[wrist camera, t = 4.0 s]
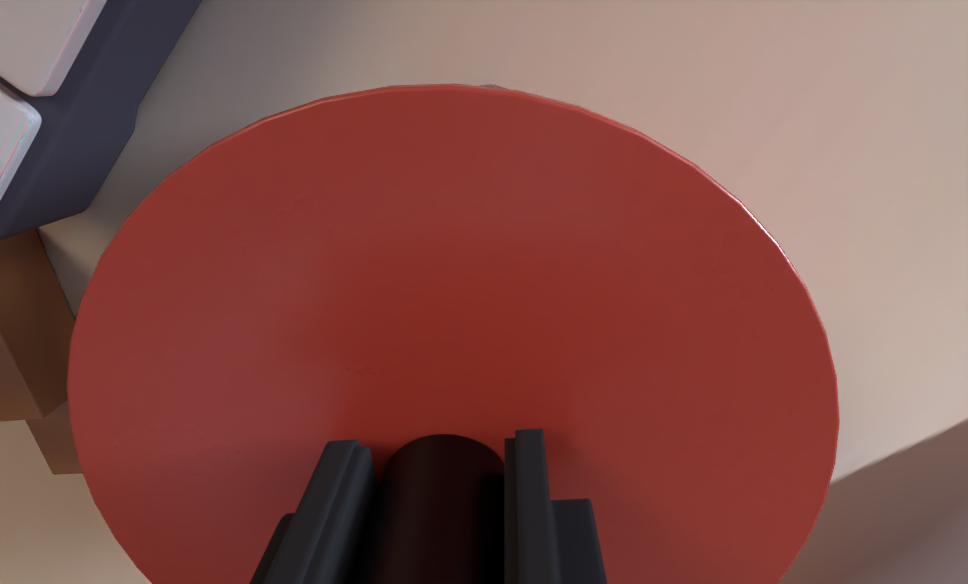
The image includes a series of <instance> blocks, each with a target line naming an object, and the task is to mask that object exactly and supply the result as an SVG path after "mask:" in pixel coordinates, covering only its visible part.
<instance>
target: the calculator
mask: <svg viewBox="0 0 968 584" xmlns="http://www.w3.org/2000/svg"><path fill="white" fill-rule="evenodd" d="M200 2H201V0H0V239H3V238H6V237H9V236H12V235H15V234H18V233H22V232H25V231H28V230H31V229H34V228H37V227H40V226H43V225H46V224H49V223H52V222H55V221H58V220H61V219H64V218H67V217H70V216H73V215H76V214H78V213H81V212H83V211H85V210H86V209H87V207H88V206H89V204H90V203H91V201H92V200H93V198H94V196H95V195H96V193H97V191H98V190H99V188H100V186H101V185H102V183H103V181H104V180H105V178H106V176H107V175H108V173H109V171H110V170H111V168H112V166H113V165H114V163H115V161H116V160H117V158H118V156H119V155H120V153H121V151H122V150H123V148H124V146H125V145H126V143H127V141H128V140H129V138H130V136H131V135H132V133H133V131H134V127H135V120H136V112H137V108H138V106H139V104H140V102H141V100H142V99H143V97H144V95H145V94H146V92H147V90H148V89H149V87H150V85H151V84H152V82H153V80H154V79H155V77H156V75H157V74H158V72H159V70H160V69H161V67H162V65H163V64H164V62H165V60H166V59H167V57H168V55H169V53H170V52H171V50H172V48H173V47H174V45H175V43H176V42H177V40H178V38H179V37H180V35H181V33H182V32H183V30H184V28H185V27H186V25H187V23H188V22H189V20H190V18H191V17H192V15H193V13H194V12H195V10H196V8H197V7H198V5H199V3H200Z"/></svg>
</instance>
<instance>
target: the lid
mask: <svg viewBox="0 0 968 584" xmlns="http://www.w3.org/2000/svg"><path fill="white" fill-rule="evenodd" d="M67 395H68V407H69V419H70V428H71V432H72V436H73V440H74V444H75V448H76V452H77V456H78V460H79V465H80V467H81V470H82V472H83V475H84V477H85V480H86V482H87V485H88V487H89V490H90V492H91V495H92V497H93V500H94V502H95V504H96V506H97V507H98V509H99V511H100V513H101V514H102V516H103V518H104V520H105V521H106V523H107V525H108V527H109V528H110V530H111V532H112V534H113V535H114V537H115V538H116V540H117V541H118V542H119V544H120V545H121V546H122V548H123V549H124V550H125V552H126V553H127V554H128V556H129V557H130V558H131V560H132V561H133V562H134V564H135V565H136V566H137V568H138V569H139V570H140V571H141V572H142V573H143V574H144V575H145V576H146V577H147V579H148V580H149V581H150V582H151V583H152V584H249V583H250V581H251V579H252V577H253V575H254V573H255V571H256V568H257V566H258V564H259V562H260V560H261V558H262V556H263V554H264V552H265V550H266V548H267V546H268V543H269V541H270V539H271V537H272V535H273V533H274V531H275V529H276V527H277V525H278V523H279V521H280V520H281V518H282V517H283V516H284V515H285V514H287V513H295V511H296V509H297V507H298V505H299V503H300V500H301V498H302V496H303V494H304V492H305V489H306V487H307V485H308V483H309V481H310V478H311V476H312V474H313V472H314V470H315V467H316V465H317V463H318V461H319V459H320V456H321V454H322V452H323V450H324V448H325V446H326V444H327V442H329V441H337V440H354V439H357V440H359V442H360V444H361V447H364V446H367V447H369V449H370V452H371V456H372V460H373V465H374V469H375V474H376V478H377V483H378V487H379V489H378V493H377V496H376V500H375V503H374V506H373V510H372V513H371V517H370V520H369V524H368V527H367V531H366V534H365V538H364V541H363V545H362V548H361V552H360V555H359V559H358V562H357V566H356V569H355V572H354V576H353V579H352V583H351V584H504V444H505V438H515V430H524V429H542V428H543V433H544V443H545V452H546V462H547V472H548V482H549V492H550V500H565V499H586V498H590V500H591V503H592V508H593V513H594V518H595V523H596V528H597V533H598V538H599V544H600V549H601V554H602V559H603V564H604V569H605V575H606V580H607V584H777V582H779V580H780V579H781V578H782V577H783V576H784V575H785V573H786V572H787V571H788V569H789V567H790V566H791V564H792V563H793V561H794V560H795V558H796V557H797V555H798V553H799V552H800V550H801V549H802V547H803V546H804V544H805V543H806V541H807V539H808V537H809V535H810V533H811V531H812V529H813V526H814V524H815V522H816V520H817V517H818V515H819V513H820V511H821V508H822V506H823V504H824V501H825V497H826V494H827V491H828V487H829V483H830V480H831V476H832V473H833V469H834V465H835V459H836V449H837V440H838V431H839V407H838V391H837V377H836V373H835V369H834V364H833V360H832V356H831V352H830V348H829V344H828V339H827V335H826V331H825V329H824V326H823V324H822V322H821V320H820V317H819V315H818V313H817V310H816V308H815V306H814V303H813V301H812V299H811V296H810V294H809V292H808V289H807V287H806V285H805V284H804V282H803V281H802V279H801V277H800V276H799V274H798V273H797V271H796V270H795V268H794V267H793V265H792V263H791V262H790V260H789V259H788V257H787V256H786V254H785V253H784V251H783V250H782V248H781V246H780V245H779V243H778V242H777V241H776V240H775V239H774V238H773V236H772V235H771V234H770V233H769V232H768V231H767V230H766V229H765V228H764V226H763V225H762V224H761V223H760V222H759V221H758V220H757V219H756V218H755V216H754V215H753V214H752V213H751V212H750V211H749V210H748V209H747V208H746V207H745V205H744V204H743V203H742V202H741V201H740V200H739V199H737V198H736V197H735V196H734V195H732V194H731V193H730V192H729V191H727V190H726V189H725V188H724V187H723V186H721V185H720V184H719V183H718V182H716V181H715V180H714V179H713V178H711V177H710V176H709V175H708V174H706V173H705V172H704V171H703V170H702V169H700V168H699V167H698V166H697V165H695V164H694V163H692V162H690V161H689V160H687V159H685V158H684V157H682V156H680V155H679V154H677V153H675V152H673V151H672V150H670V149H668V148H667V147H665V146H663V145H662V144H660V143H658V142H656V141H655V140H653V139H651V138H650V137H648V136H646V135H645V134H643V133H641V132H639V131H638V130H636V129H634V128H631V127H629V126H626V125H624V124H622V123H619V122H617V121H614V120H612V119H609V118H607V117H604V116H602V115H600V114H597V113H595V112H592V111H590V110H587V109H585V108H582V107H580V106H577V105H573V104H569V103H565V102H561V101H557V100H553V99H549V98H545V97H541V96H537V95H533V94H529V93H525V92H521V91H518V90H508V89H499V88H490V87H481V86H471V85H462V84H428V85H397V86H387V87H381V88H376V89H370V90H364V91H358V92H353V93H347V94H341V95H336V96H330V97H326V98H322V99H319V100H316V101H313V102H310V103H307V104H304V105H301V106H298V107H295V108H292V109H289V110H286V111H283V112H280V113H277V114H274V115H271V116H268V117H265V118H263V119H261V120H259V121H257V122H255V123H253V124H251V125H249V126H247V127H245V128H243V129H241V130H239V131H237V132H235V133H233V134H231V135H229V136H227V137H225V138H223V139H221V140H219V141H217V142H216V143H214V144H212V145H210V146H209V147H207V148H206V149H205V150H203V151H202V152H200V153H199V154H198V155H196V156H195V157H194V158H192V159H191V160H189V161H188V162H187V163H185V164H184V165H183V166H181V167H180V168H179V169H177V170H176V171H174V172H173V173H172V174H170V175H169V176H168V177H166V178H165V179H164V180H163V181H162V182H161V183H160V184H159V185H158V186H157V187H156V188H155V189H154V190H153V191H152V192H151V193H150V194H149V196H148V197H147V198H146V199H145V200H144V201H143V202H142V203H141V204H140V205H139V206H138V207H137V208H136V209H135V210H134V211H133V212H132V213H131V214H130V215H129V216H128V218H127V219H126V221H125V222H124V224H123V225H122V226H121V228H120V229H119V231H118V232H117V234H116V235H115V237H114V238H113V240H112V241H111V242H110V244H109V245H108V247H107V248H106V250H105V251H104V253H103V254H102V256H101V258H100V260H99V262H98V264H97V266H96V268H95V271H94V273H93V275H92V277H91V279H90V282H89V284H88V286H87V288H86V290H85V293H84V295H83V297H82V299H81V303H80V306H79V310H78V314H77V318H76V322H75V326H74V330H73V333H72V337H71V341H70V350H69V363H68V375H67Z"/></svg>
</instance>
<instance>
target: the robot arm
mask: <svg viewBox="0 0 968 584" xmlns="http://www.w3.org/2000/svg"><path fill="white" fill-rule="evenodd" d="M378 489H379V487H378V483H377V478H376V474H375V469H374V465H373V460H372V456H371V452H370V449H369V447H367V446H364V447H361V444H360V442H359V440H357V439H354V440H337V441H329V442H327V444H326V446H325V448H324V450H323V452H322V454H321V456H320V459H319V461H318V463H317V465H316V467H315V470H314V472H313V474H312V476H311V478H310V481H309V483H308V485H307V487H306V489H305V492H304V494H303V496H302V498H301V500H300V503H299V505H298V507H297V509H296V511H295V513H287V514H285V515H284V516H283V517H282V518H281V520H280V521H279V523H278V525H277V527H276V529H275V531H274V533H273V535H272V537H271V539H270V541H269V543H268V546H267V548H266V550H265V552H264V554H263V556H262V558H261V560H260V562H259V564H258V566H257V568H256V571H255V573H254V575H253V577H252V579H251V581H250V583H249V584H351V583H352V579H353V576H354V572H355V569H356V566H357V562H358V559H359V555H360V552H361V548H362V545H363V541H364V538H365V534H366V531H367V527H368V524H369V520H370V517H371V513H372V510H373V506H374V503H375V500H376V496H377V493H378ZM504 584H607V580H606V575H605V569H604V564H603V559H602V554H601V549H600V544H599V538H598V533H597V528H596V523H595V518H594V513H593V508H592V503H591V500H590V498H586V499H565V500H550V492H549V482H548V472H547V462H546V452H545V443H544V433H543V428H542V429H524V430H515V438H505V444H504Z"/></svg>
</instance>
